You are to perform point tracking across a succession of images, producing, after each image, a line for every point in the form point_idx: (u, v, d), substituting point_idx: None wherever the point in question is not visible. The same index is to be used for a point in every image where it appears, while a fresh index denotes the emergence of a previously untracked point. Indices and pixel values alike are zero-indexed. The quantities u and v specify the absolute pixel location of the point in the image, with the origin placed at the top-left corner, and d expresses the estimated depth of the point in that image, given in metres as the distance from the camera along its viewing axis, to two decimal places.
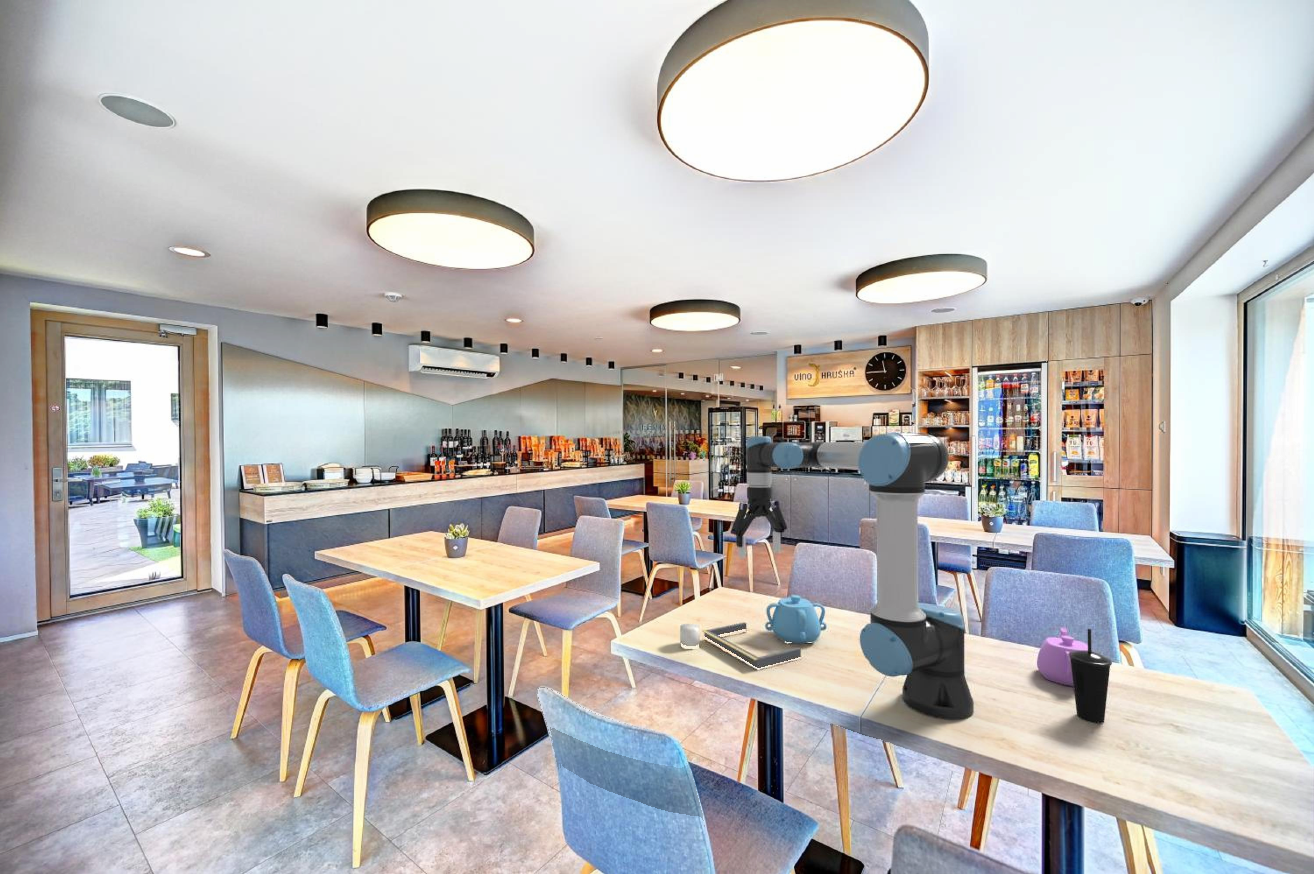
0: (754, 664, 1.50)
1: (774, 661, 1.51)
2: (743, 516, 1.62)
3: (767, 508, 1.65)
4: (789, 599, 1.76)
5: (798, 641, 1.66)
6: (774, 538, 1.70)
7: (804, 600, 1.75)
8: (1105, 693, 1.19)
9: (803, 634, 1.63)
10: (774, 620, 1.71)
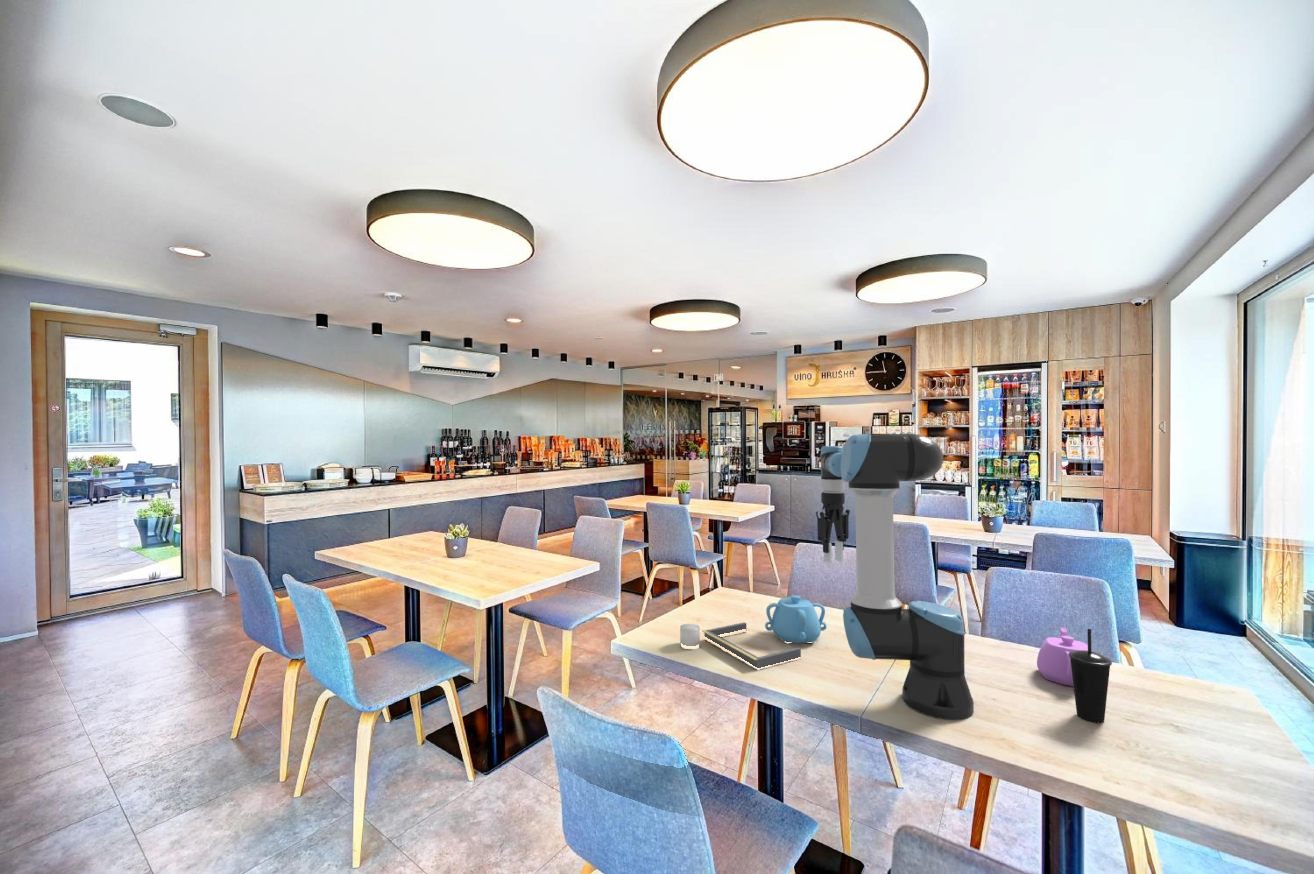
0: (754, 664, 1.50)
1: (774, 661, 1.51)
2: (824, 523, 1.77)
3: (840, 512, 1.80)
4: (789, 599, 1.76)
5: (798, 641, 1.66)
6: (836, 547, 1.82)
7: (804, 600, 1.75)
8: (1105, 693, 1.19)
9: (803, 634, 1.63)
10: (774, 620, 1.71)
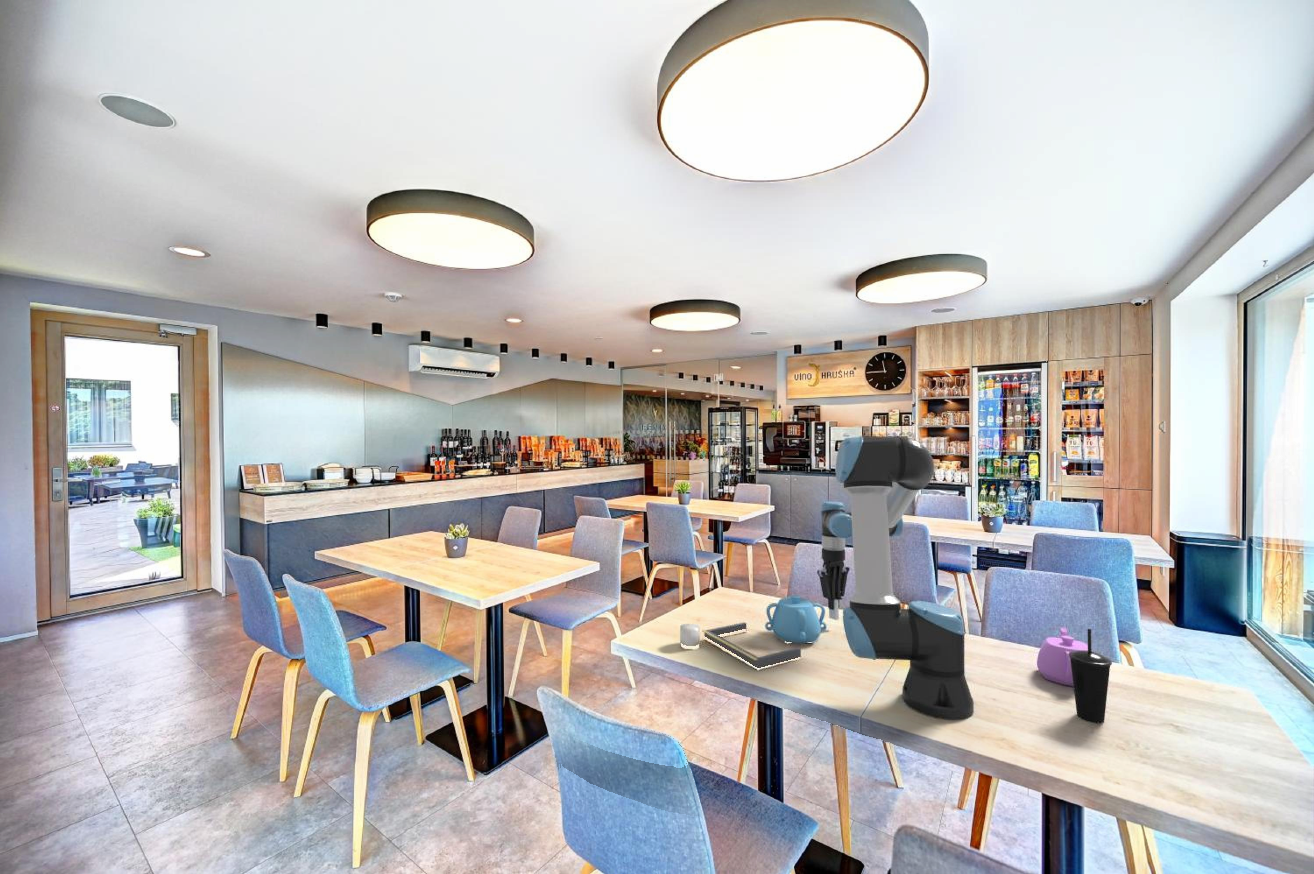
0: (754, 664, 1.50)
1: (774, 661, 1.51)
2: (827, 582, 1.78)
3: (840, 569, 1.80)
4: (789, 599, 1.76)
5: (798, 641, 1.66)
6: None
7: (804, 600, 1.75)
8: (1105, 693, 1.19)
9: (803, 634, 1.63)
10: (774, 620, 1.71)
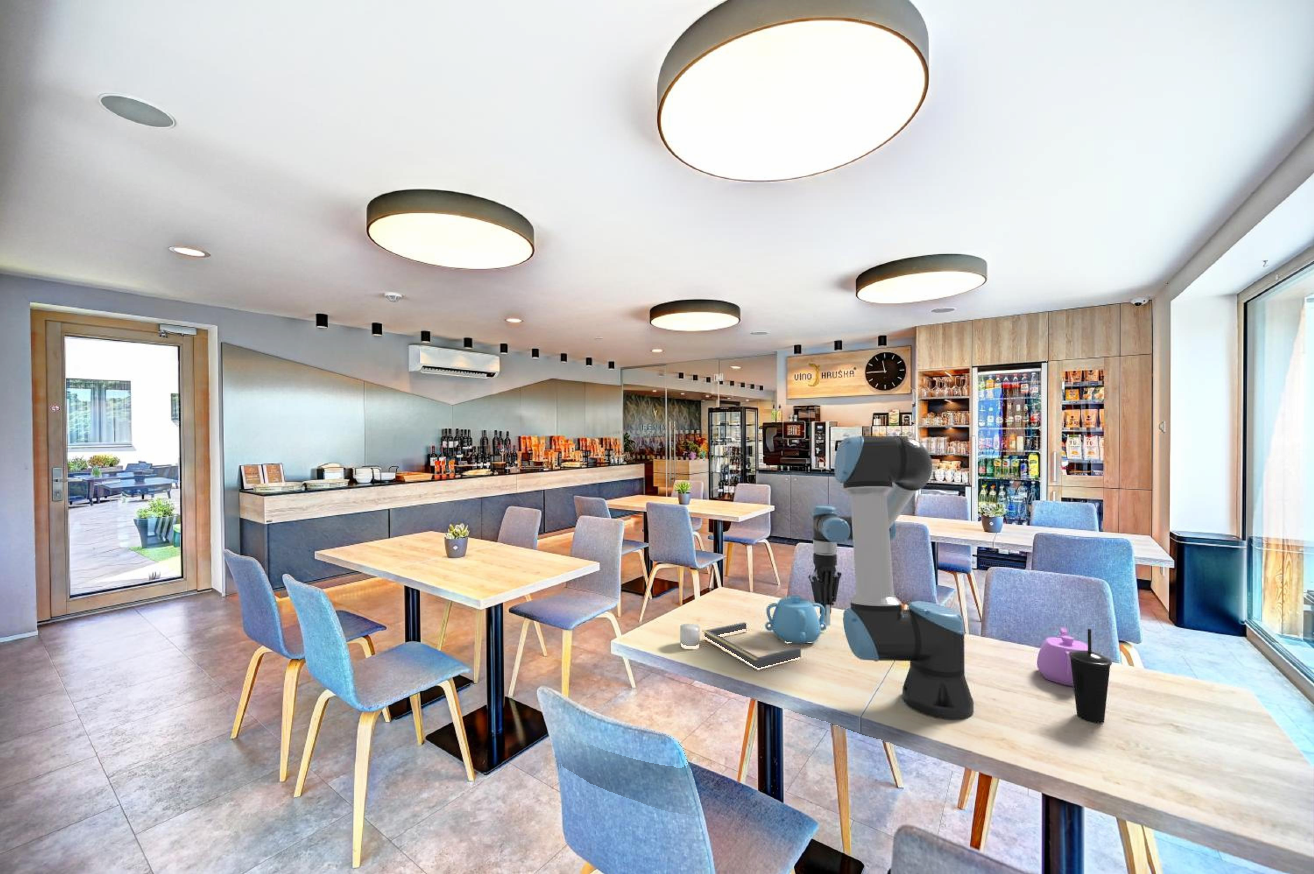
0: (754, 664, 1.50)
1: (774, 661, 1.51)
2: (818, 587, 1.76)
3: (832, 574, 1.78)
4: (789, 599, 1.76)
5: (798, 641, 1.66)
6: None
7: (804, 600, 1.75)
8: (1105, 693, 1.19)
9: (803, 634, 1.63)
10: (774, 620, 1.71)
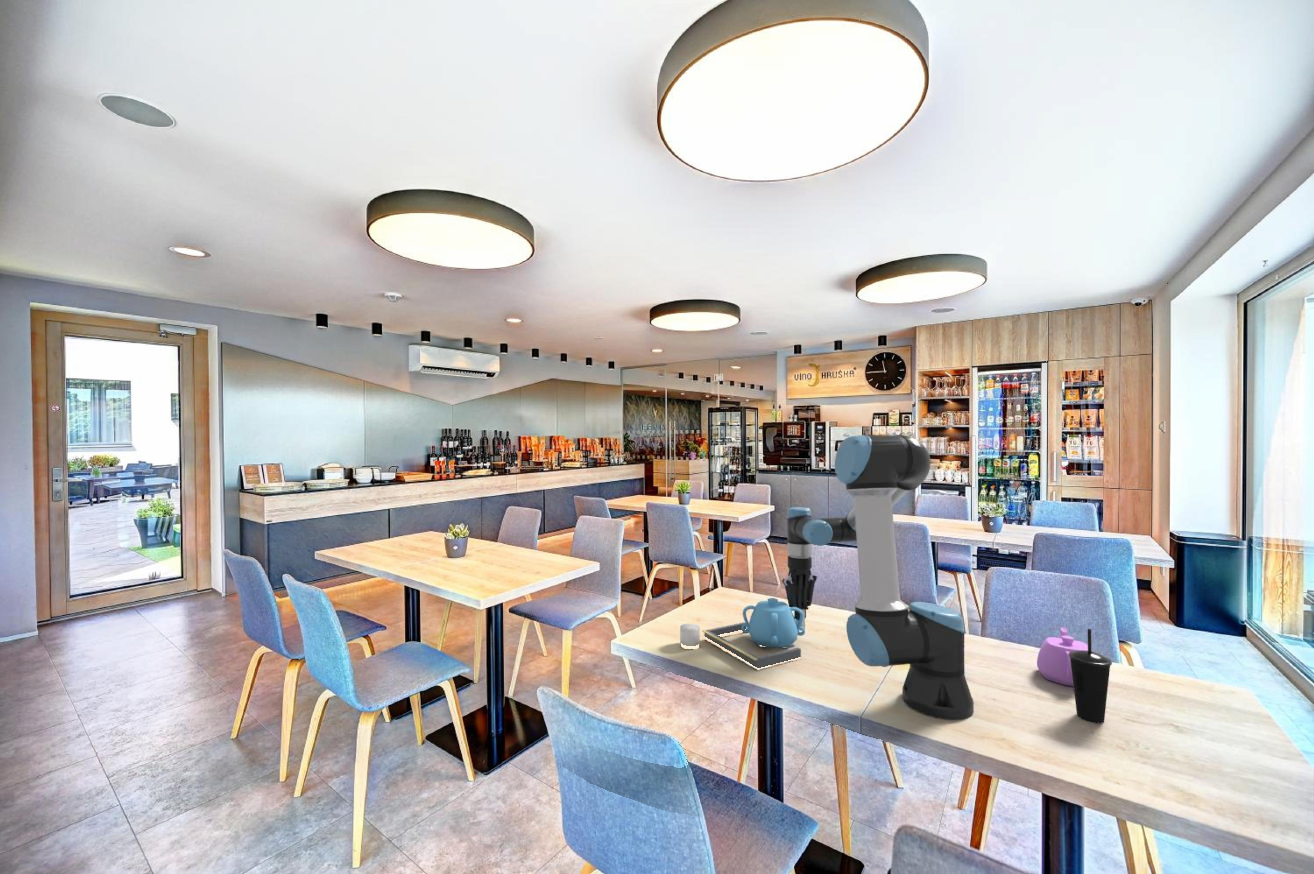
0: (754, 664, 1.50)
1: (774, 661, 1.51)
2: (792, 591, 1.70)
3: (807, 577, 1.72)
4: (768, 602, 1.72)
5: (771, 645, 1.62)
6: None
7: (783, 604, 1.71)
8: (1105, 693, 1.19)
9: (775, 638, 1.59)
10: (750, 623, 1.69)
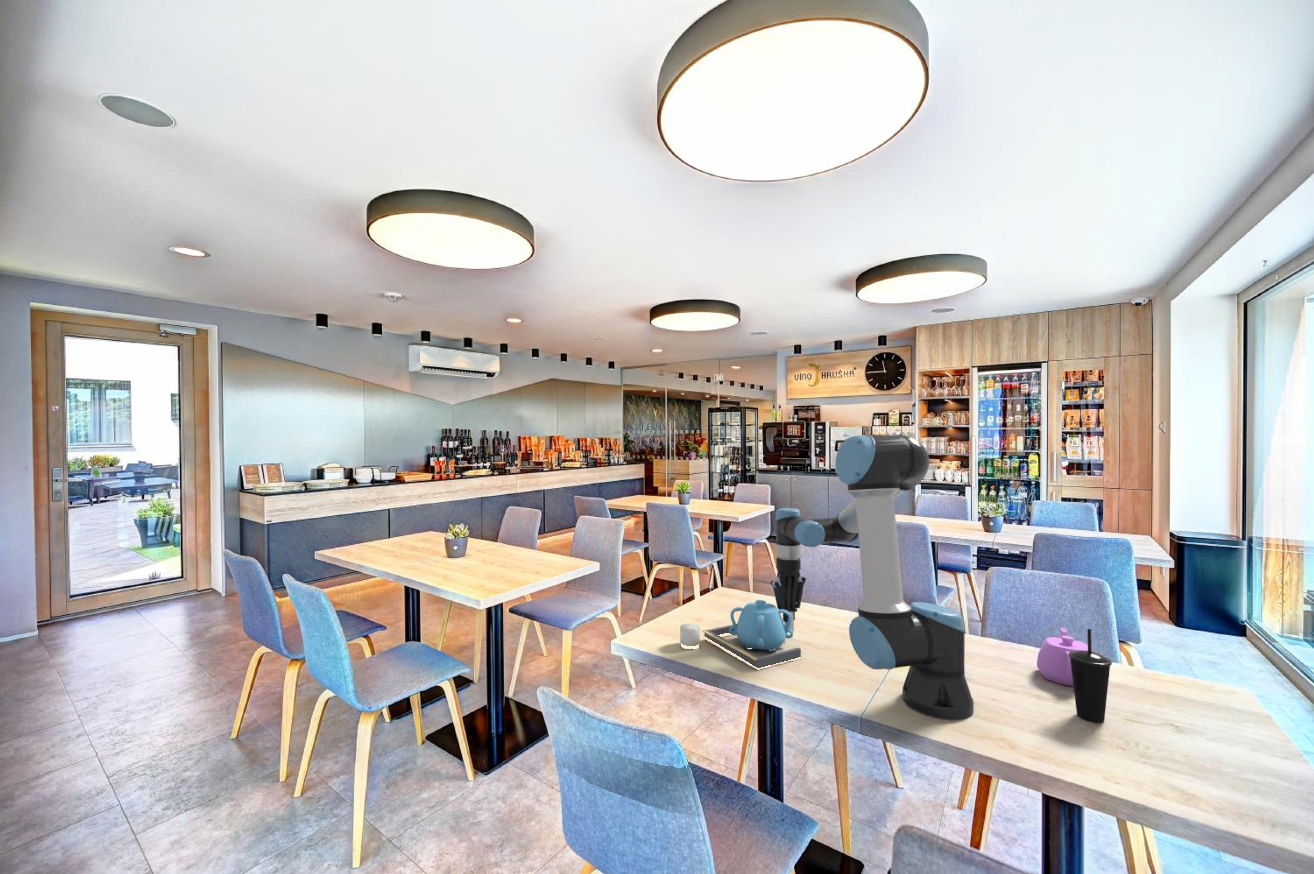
0: (754, 664, 1.50)
1: (774, 661, 1.51)
2: (781, 593, 1.68)
3: (795, 579, 1.70)
4: None
5: (758, 648, 1.60)
6: None
7: (771, 606, 1.68)
8: (1105, 693, 1.19)
9: (761, 641, 1.57)
10: (737, 625, 1.67)
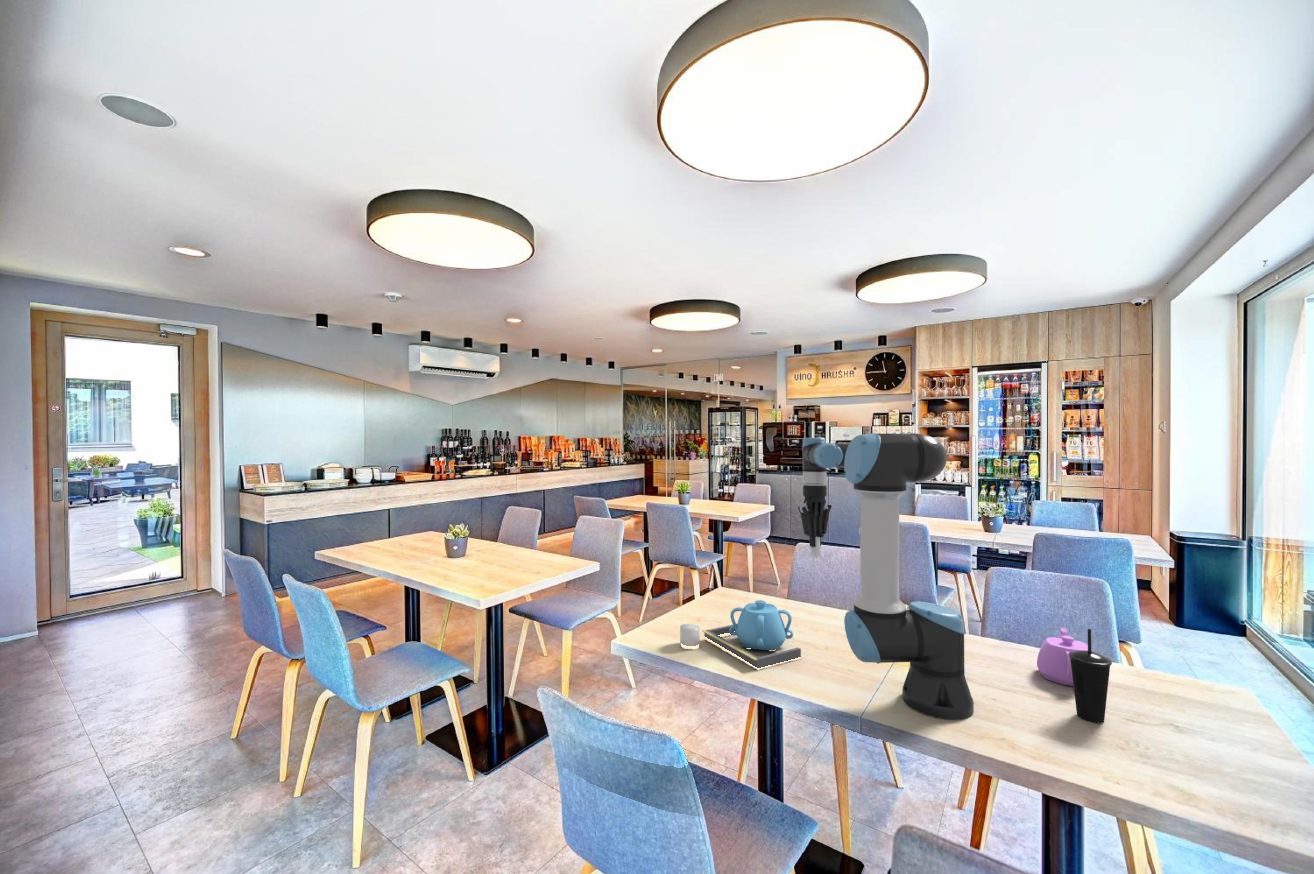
0: (754, 664, 1.50)
1: (774, 661, 1.51)
2: (808, 518, 1.74)
3: (822, 505, 1.76)
4: None
5: (757, 648, 1.60)
6: None
7: (771, 606, 1.68)
8: (1105, 693, 1.19)
9: (760, 641, 1.57)
10: (737, 625, 1.67)
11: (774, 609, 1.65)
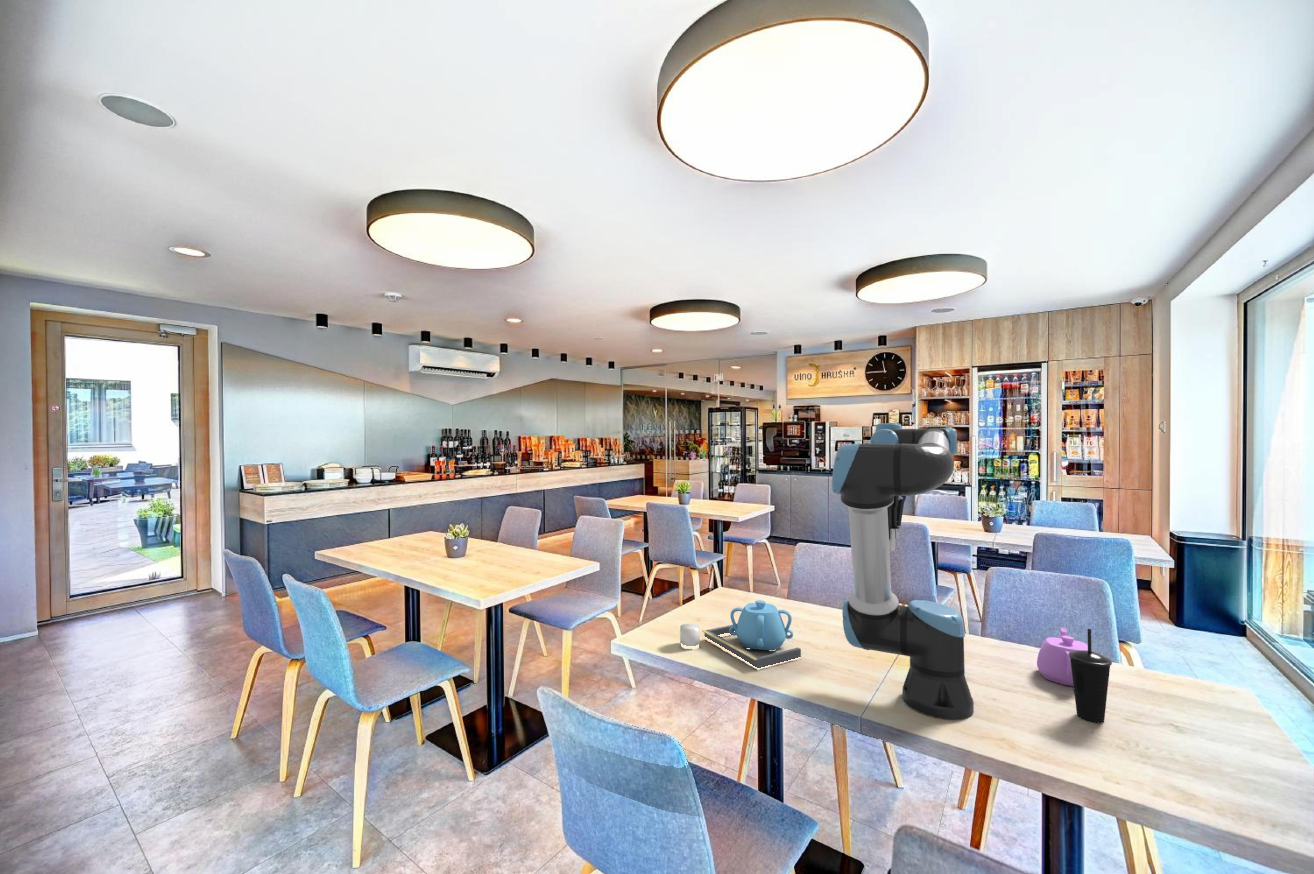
0: (754, 664, 1.50)
1: (774, 661, 1.51)
2: None
3: (897, 495, 1.65)
4: None
5: (757, 648, 1.60)
6: None
7: (771, 606, 1.68)
8: (1105, 693, 1.19)
9: (760, 641, 1.57)
10: (737, 625, 1.67)
11: (774, 609, 1.65)
